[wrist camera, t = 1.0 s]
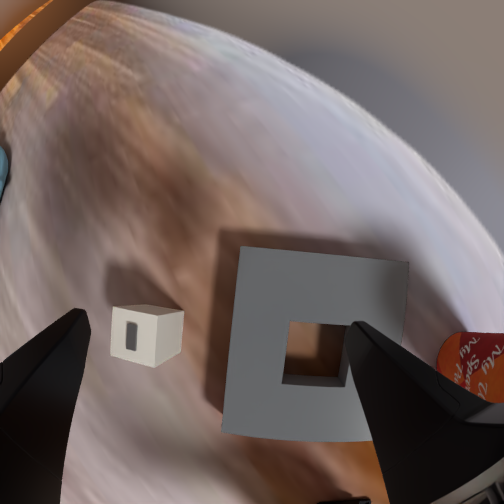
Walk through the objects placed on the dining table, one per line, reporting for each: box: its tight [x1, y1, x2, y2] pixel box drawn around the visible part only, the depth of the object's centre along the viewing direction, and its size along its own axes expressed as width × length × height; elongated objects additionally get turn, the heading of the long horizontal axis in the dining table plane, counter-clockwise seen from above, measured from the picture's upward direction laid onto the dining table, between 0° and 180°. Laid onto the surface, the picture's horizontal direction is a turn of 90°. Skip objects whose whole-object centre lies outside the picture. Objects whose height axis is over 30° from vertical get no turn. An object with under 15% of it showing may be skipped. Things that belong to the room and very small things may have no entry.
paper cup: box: [437, 332, 504, 403], centre depth 15 cm, size 8×8×14 cm
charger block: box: [110, 304, 184, 368], centre depth 22 cm, size 4×4×6 cm
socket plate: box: [221, 246, 409, 442], centre depth 22 cm, size 16×14×3 cm
